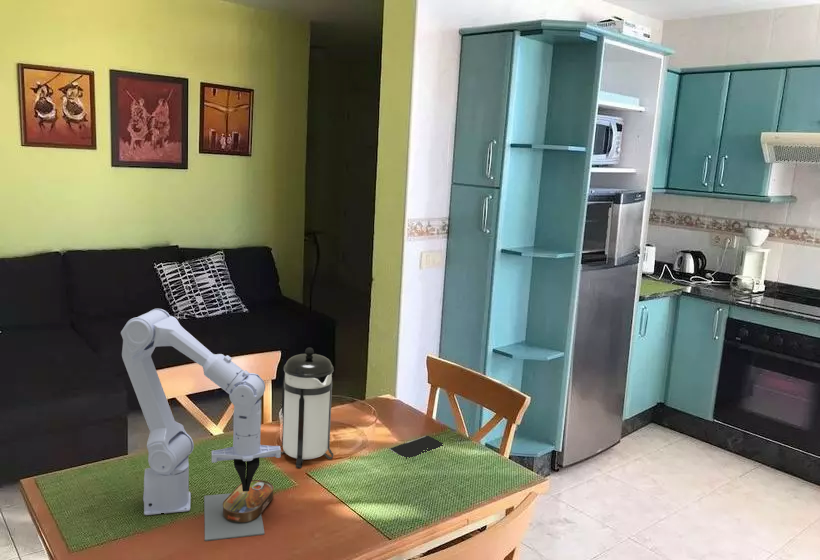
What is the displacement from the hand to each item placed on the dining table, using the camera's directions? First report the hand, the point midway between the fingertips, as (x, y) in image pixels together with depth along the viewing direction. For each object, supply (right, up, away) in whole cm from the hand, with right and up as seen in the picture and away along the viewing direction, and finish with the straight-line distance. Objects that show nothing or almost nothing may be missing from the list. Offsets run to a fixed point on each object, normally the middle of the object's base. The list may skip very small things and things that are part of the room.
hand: (245, 489), depth 144 cm
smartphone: (+38, -2, +39) cm, 55 cm away
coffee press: (+7, -1, +31) cm, 32 cm away
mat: (-3, -6, 0) cm, 6 cm away
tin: (+4, -4, +3) cm, 7 cm away
